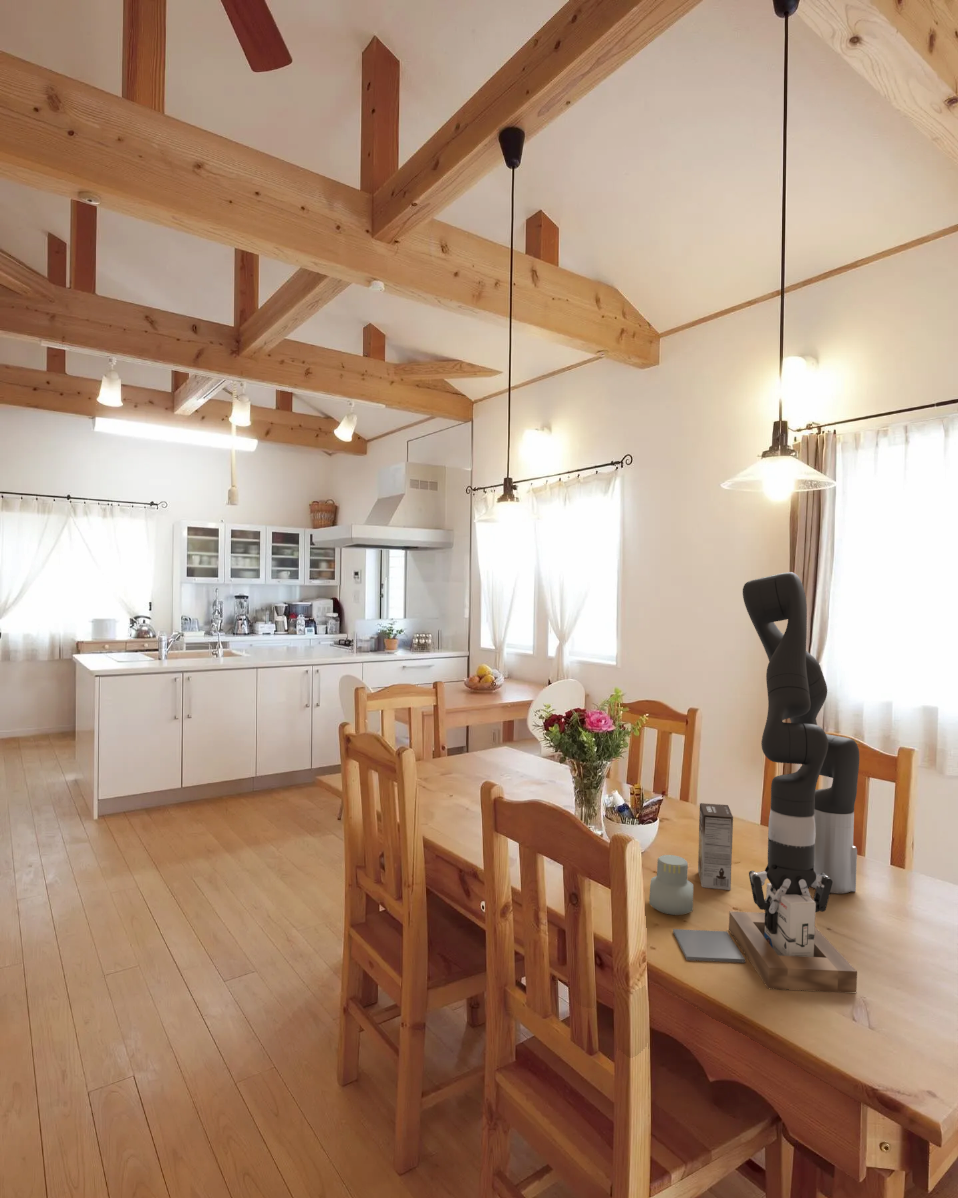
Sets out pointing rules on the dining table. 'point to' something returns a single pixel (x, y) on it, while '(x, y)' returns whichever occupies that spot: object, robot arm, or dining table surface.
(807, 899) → the ink box
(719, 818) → the coffee box
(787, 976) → the pocket
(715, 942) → the coaster
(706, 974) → the dining table surface
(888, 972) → the dining table surface
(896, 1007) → the dining table surface
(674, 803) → the dining table surface
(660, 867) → the air freshener
